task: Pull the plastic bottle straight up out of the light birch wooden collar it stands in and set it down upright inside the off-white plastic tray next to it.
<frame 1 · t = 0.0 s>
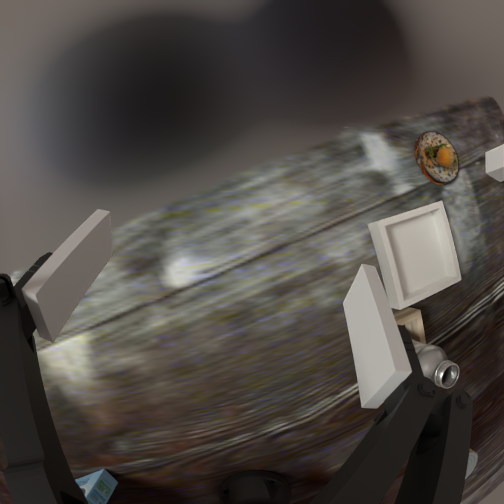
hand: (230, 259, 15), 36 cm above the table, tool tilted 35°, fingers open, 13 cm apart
plastic tray: (413, 253, 53), on the table
gum box: (88, 483, 47), on the table
milk: (492, 167, 55), on the table
wooden collar: (387, 344, 52), on the table
plastic bottle: (387, 344, 52), resting in wooden collar
patterned ceramic bowl: (434, 159, 54), on the table
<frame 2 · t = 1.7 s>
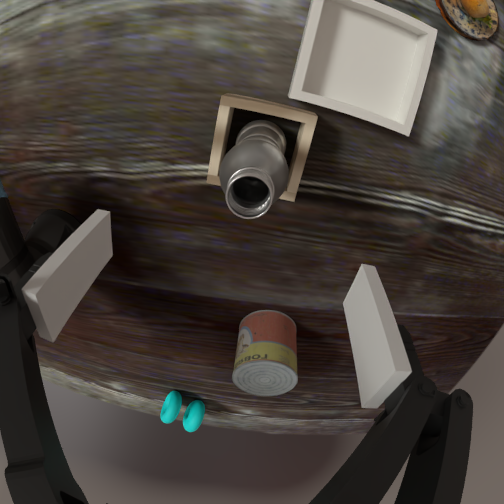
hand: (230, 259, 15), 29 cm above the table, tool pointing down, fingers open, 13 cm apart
plastic tray: (360, 58, 32), on the table
wooden collar: (261, 141, 39), on the table
canned food: (267, 329, 59), on the table
plastic bottle: (261, 140, 39), resting in wooden collar
patterned ceramic bowl: (464, 5, 23), on the table
turquoise yo-yo: (186, 396, 77), on the table
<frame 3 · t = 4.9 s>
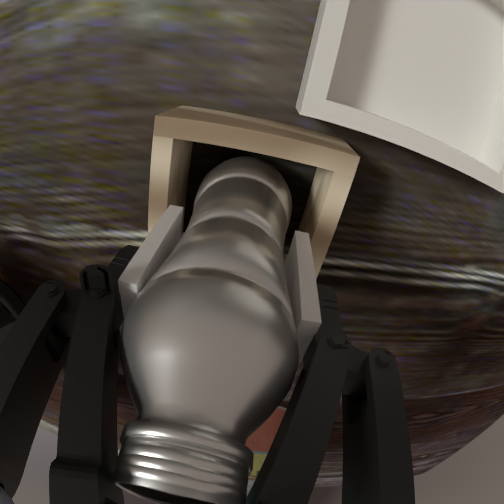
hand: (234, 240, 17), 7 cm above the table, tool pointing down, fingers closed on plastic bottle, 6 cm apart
plastic tray: (427, 43, 15), on the table
wooden collar: (246, 192, 22), on the table
canned food: (263, 419, 42), on the table
plastic bottle: (246, 191, 22), resting in wooden collar, touching gripper
when the fingers open (10 cm above the table, at t = 12.1 s): plastic bottle drops 2 cm, resting on plastic tray.
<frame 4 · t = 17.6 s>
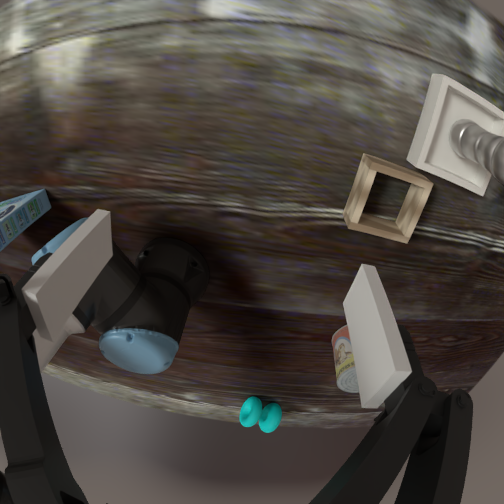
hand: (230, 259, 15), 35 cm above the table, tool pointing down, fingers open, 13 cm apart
plastic tray: (456, 133, 40), on the table
gum box: (23, 204, 54), on the table
wooden collar: (382, 193, 48), on the table
canned food: (354, 337, 67), on the table
plastic bottle: (458, 134, 39), point 1 cm above the table, touching plastic tray
turquoise yo-yo: (261, 400, 86), on the table
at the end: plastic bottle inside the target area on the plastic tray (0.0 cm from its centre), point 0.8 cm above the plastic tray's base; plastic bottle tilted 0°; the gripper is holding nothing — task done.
